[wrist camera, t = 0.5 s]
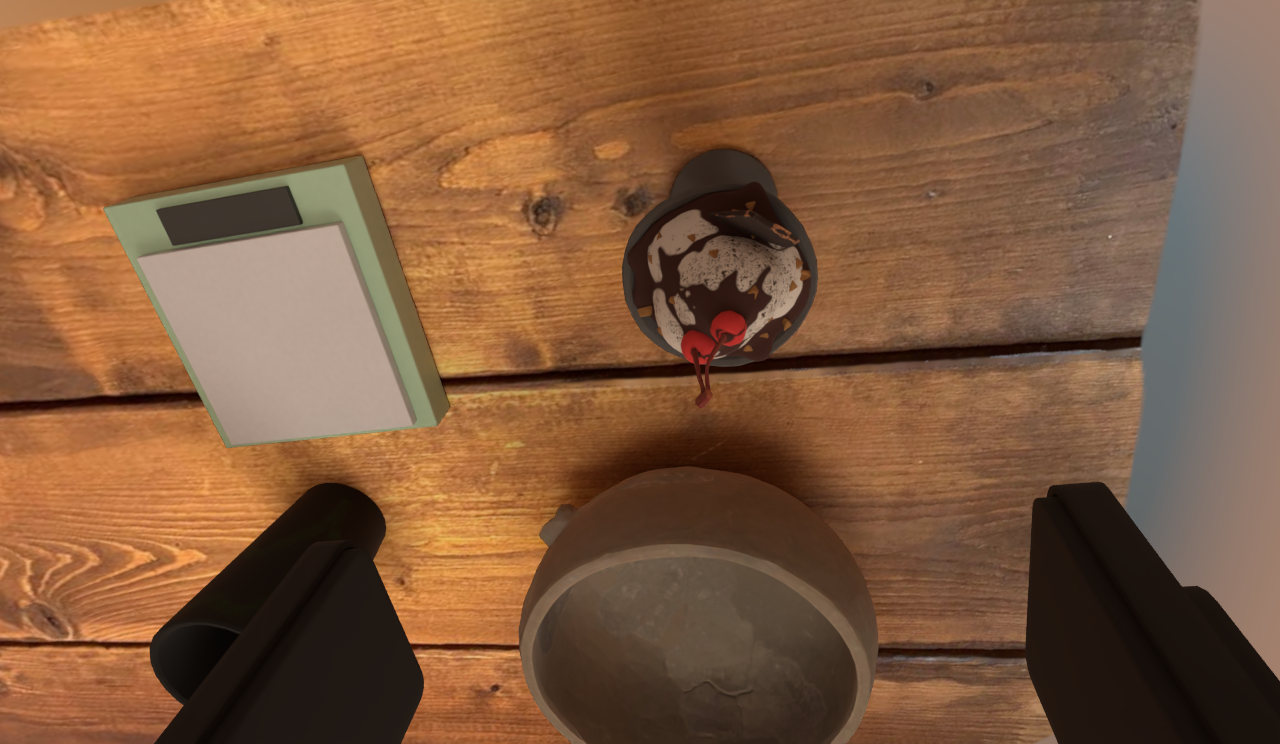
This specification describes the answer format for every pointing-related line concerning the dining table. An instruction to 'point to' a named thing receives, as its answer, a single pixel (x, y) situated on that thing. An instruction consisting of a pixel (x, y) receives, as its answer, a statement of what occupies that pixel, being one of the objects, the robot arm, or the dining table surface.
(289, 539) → the cup
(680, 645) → the bowl
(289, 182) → the scale
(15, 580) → the dining table surface
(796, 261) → the sundae
